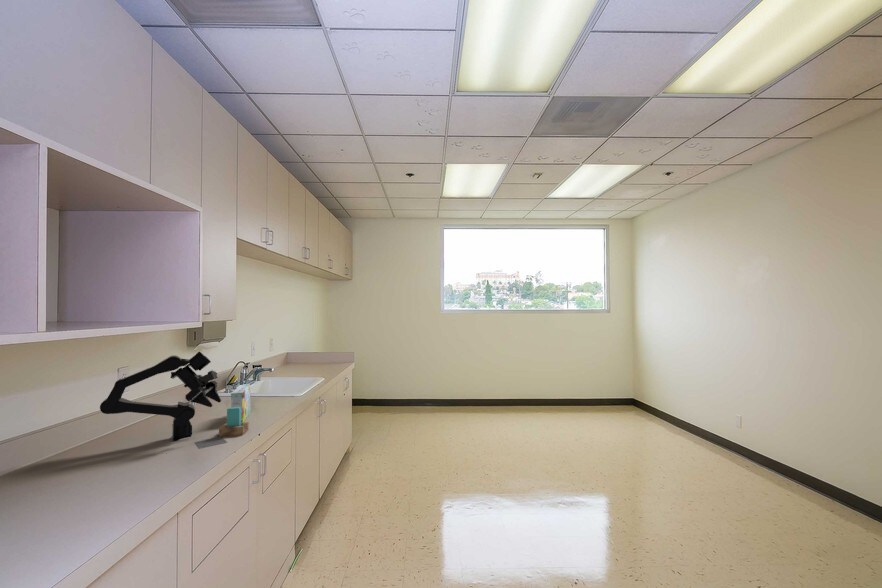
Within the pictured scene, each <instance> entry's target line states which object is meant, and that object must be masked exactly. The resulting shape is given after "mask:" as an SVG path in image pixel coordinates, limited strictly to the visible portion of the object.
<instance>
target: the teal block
mask: <svg viewBox="0 0 882 588" xmlns="http://www.w3.org/2000/svg"><path fill="white" fill-rule="evenodd" d="M226 423H227V427H233V426H241V423H242V422H241V407H227V408H226Z"/></svg>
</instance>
